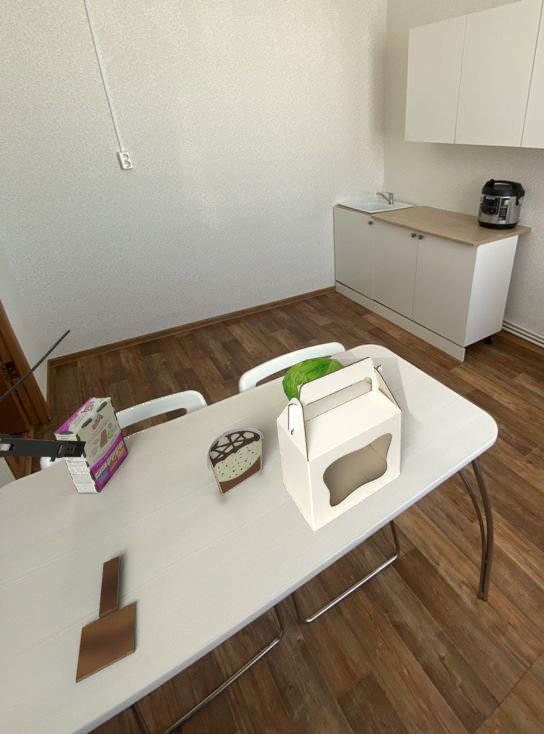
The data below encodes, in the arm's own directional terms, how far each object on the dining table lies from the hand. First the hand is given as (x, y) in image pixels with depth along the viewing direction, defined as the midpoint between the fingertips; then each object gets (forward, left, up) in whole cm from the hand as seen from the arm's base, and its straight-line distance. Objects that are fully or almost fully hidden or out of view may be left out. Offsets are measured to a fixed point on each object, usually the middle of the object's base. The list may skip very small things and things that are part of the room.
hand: (49, 446), depth 72 cm
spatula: (+24, +8, -16) cm, 30 cm away
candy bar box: (-7, +5, -16) cm, 18 cm away
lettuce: (-4, +56, -16) cm, 58 cm away
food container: (+8, +31, -16) cm, 36 cm away
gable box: (+21, +51, -16) cm, 57 cm away
